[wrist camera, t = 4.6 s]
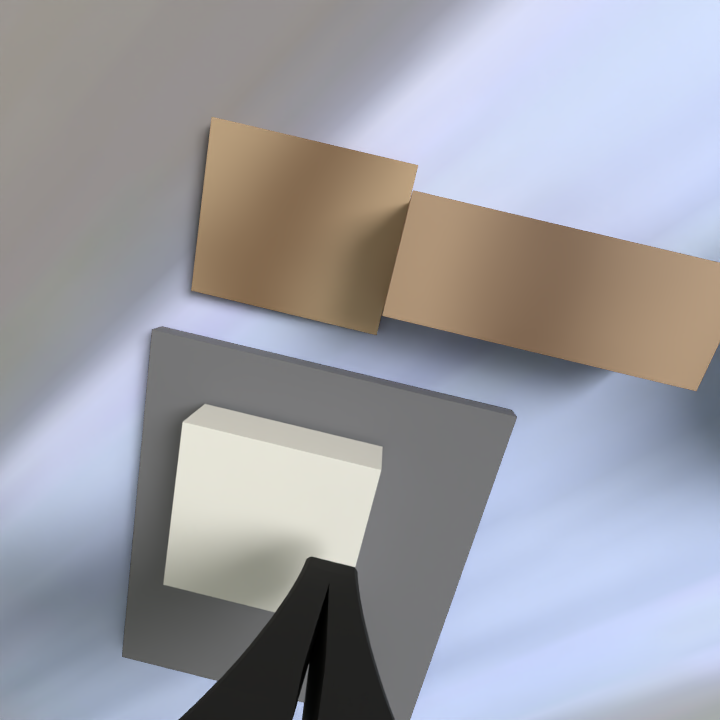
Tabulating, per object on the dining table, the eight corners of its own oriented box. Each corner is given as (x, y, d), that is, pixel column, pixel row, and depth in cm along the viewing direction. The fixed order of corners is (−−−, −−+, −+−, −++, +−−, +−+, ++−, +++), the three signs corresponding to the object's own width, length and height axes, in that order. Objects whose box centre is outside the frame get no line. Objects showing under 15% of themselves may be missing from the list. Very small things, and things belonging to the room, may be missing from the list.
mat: (406, 712, 17) (406, 728, 17) (130, 643, 18) (122, 656, 17) (511, 409, 14) (516, 417, 13) (161, 326, 14) (151, 329, 13)
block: (339, 628, 14) (163, 584, 14) (344, 587, 15) (187, 549, 15) (381, 470, 12) (182, 421, 12) (382, 444, 14) (207, 401, 14)
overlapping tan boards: (683, 231, 12) (774, 225, 9) (617, 389, 13) (679, 427, 11) (220, 123, 12) (167, 83, 9) (199, 288, 14) (147, 298, 11)
